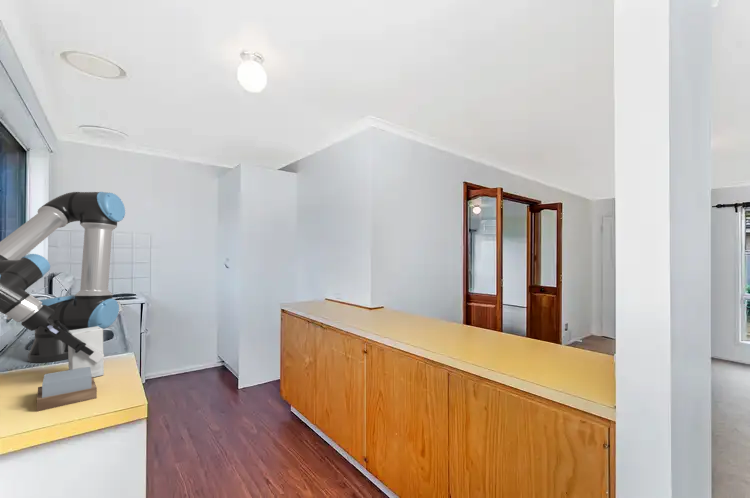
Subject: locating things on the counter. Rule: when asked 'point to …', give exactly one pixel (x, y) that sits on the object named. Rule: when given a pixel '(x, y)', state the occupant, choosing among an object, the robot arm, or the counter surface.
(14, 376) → the counter surface
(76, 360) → the skincare box
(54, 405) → the tower base
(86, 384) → the tower top
